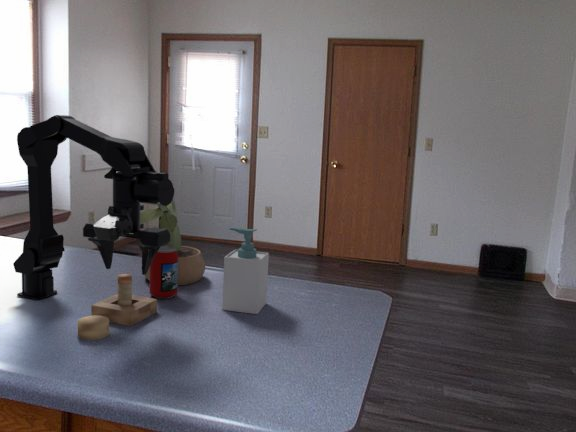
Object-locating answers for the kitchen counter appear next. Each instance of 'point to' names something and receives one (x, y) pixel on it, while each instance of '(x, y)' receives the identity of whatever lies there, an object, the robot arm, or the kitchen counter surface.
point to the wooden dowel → (125, 290)
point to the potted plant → (177, 244)
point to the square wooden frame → (125, 309)
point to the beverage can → (164, 273)
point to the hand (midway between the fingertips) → (126, 271)
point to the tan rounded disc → (93, 327)
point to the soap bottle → (245, 277)
